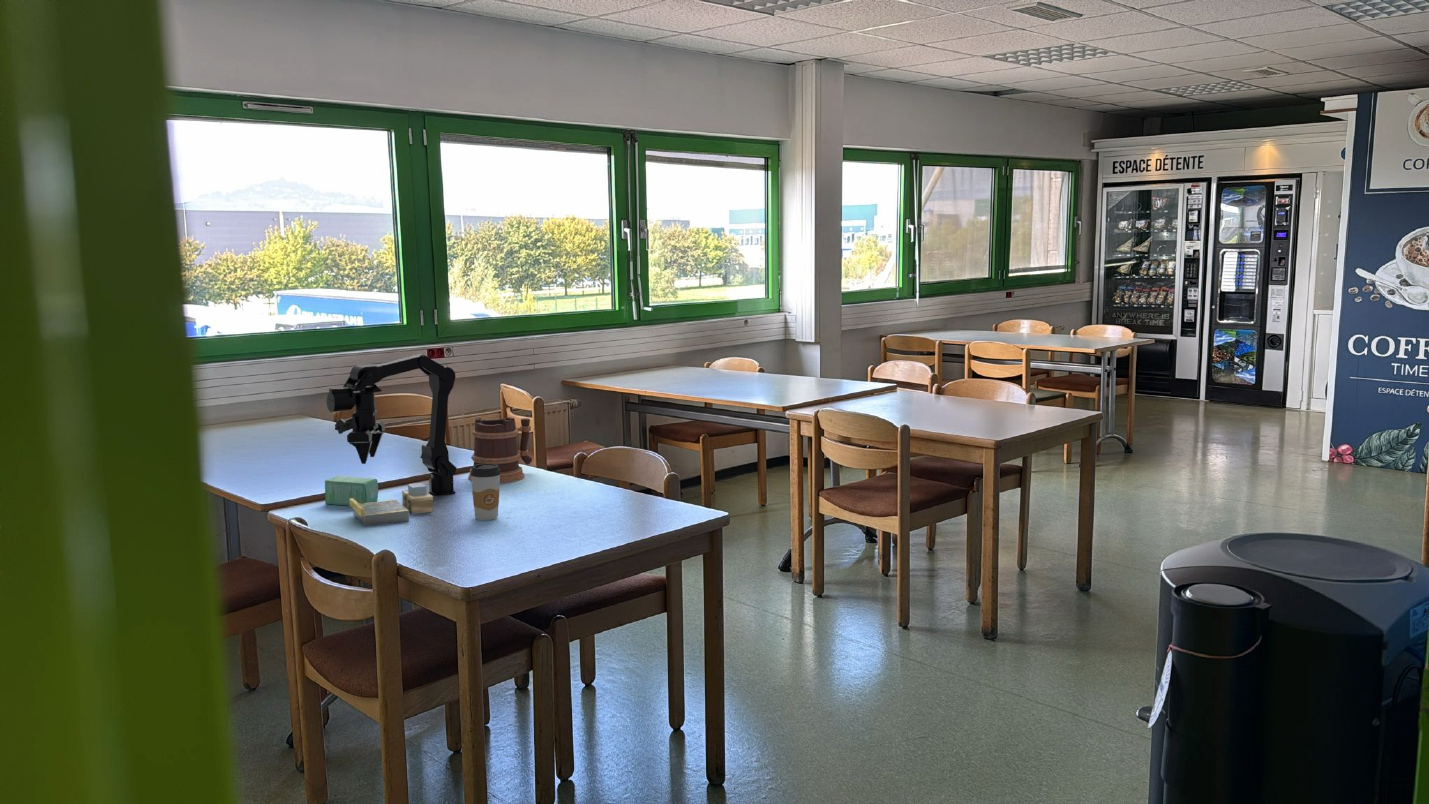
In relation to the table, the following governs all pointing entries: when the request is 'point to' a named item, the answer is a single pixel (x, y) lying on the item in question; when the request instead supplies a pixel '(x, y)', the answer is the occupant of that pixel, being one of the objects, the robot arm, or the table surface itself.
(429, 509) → the tan stepped block
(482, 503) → the coffee cup
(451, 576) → the table surface
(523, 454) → the mug
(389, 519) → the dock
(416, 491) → the grey blue block
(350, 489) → the box
